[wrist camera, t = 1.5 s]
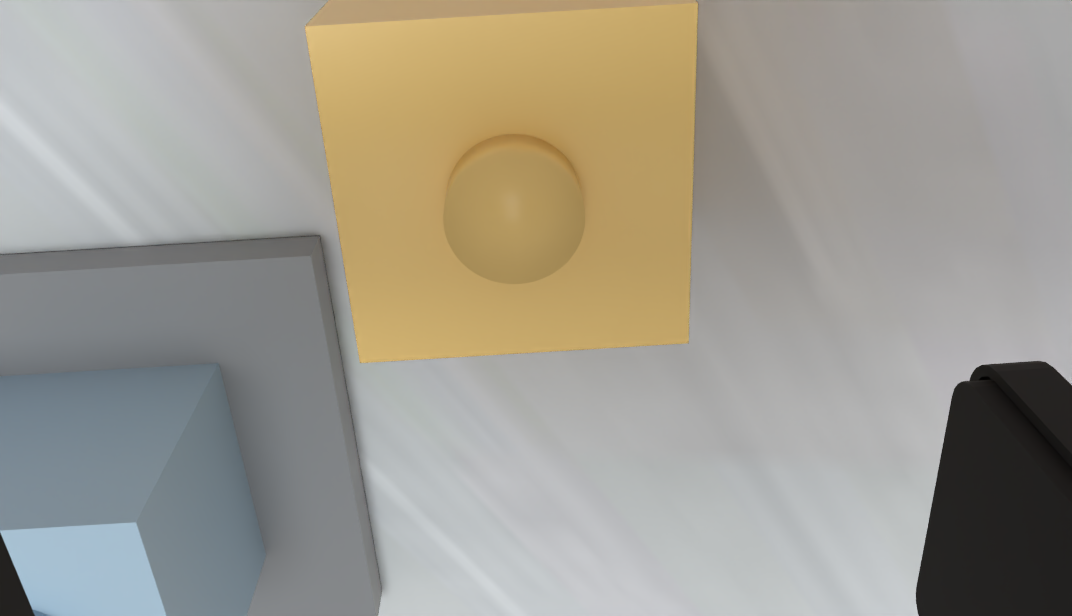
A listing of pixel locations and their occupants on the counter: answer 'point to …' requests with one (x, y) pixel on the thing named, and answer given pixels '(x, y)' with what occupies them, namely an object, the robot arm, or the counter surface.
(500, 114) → the ochre brick
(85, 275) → the baseplate
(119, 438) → the blue brick
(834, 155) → the counter surface
